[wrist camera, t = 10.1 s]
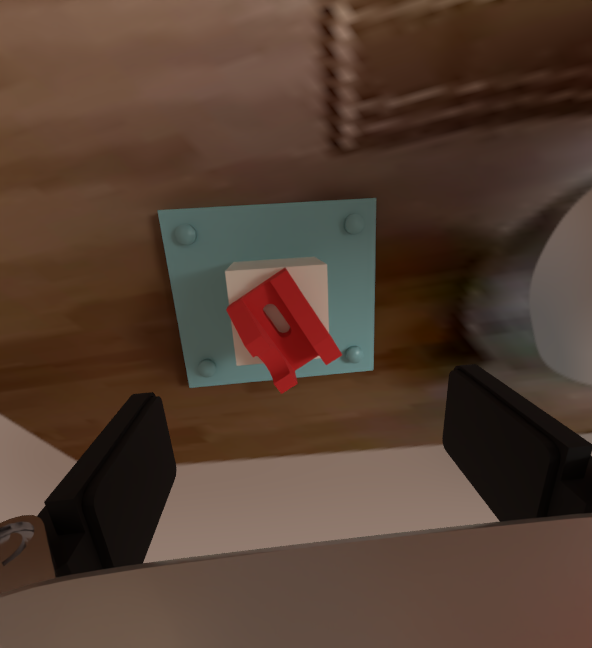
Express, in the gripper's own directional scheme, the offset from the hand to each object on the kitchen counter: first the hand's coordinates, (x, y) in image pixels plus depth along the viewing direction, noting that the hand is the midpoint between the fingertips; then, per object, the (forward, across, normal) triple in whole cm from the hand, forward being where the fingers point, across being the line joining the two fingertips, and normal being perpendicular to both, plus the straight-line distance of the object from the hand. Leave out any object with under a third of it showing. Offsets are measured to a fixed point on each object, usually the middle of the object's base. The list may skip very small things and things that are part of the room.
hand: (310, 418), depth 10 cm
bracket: (+13, +1, +1) cm, 13 cm away
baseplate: (+20, +1, 0) cm, 20 cm away
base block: (+19, +1, 0) cm, 19 cm away
